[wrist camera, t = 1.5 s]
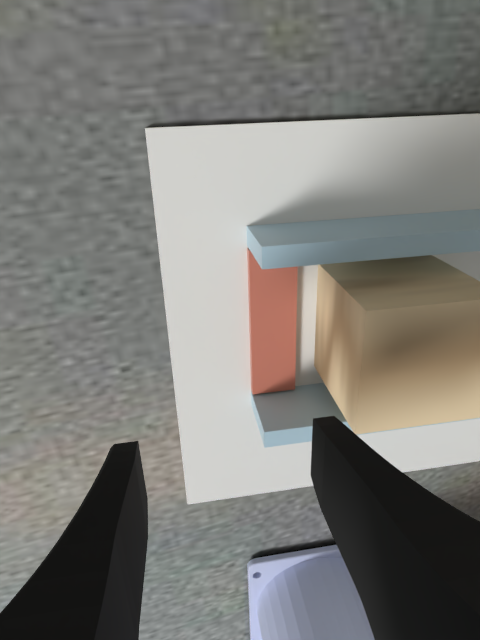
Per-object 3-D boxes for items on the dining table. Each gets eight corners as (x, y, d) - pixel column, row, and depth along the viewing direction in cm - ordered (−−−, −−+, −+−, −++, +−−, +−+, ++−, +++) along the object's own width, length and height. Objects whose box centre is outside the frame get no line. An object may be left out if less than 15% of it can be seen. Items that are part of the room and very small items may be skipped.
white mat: (586, 440, 27) (591, 444, 27) (187, 499, 24) (187, 504, 24) (710, 103, 19) (718, 103, 19) (145, 127, 16) (145, 128, 16)
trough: (502, 374, 23) (546, 409, 21) (251, 405, 22) (264, 447, 19) (544, 204, 20) (604, 219, 17) (246, 225, 18) (261, 246, 15)
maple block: (414, 354, 22) (479, 417, 18) (314, 365, 21) (354, 434, 17) (429, 253, 20) (507, 297, 15) (318, 263, 19) (366, 310, 15)
